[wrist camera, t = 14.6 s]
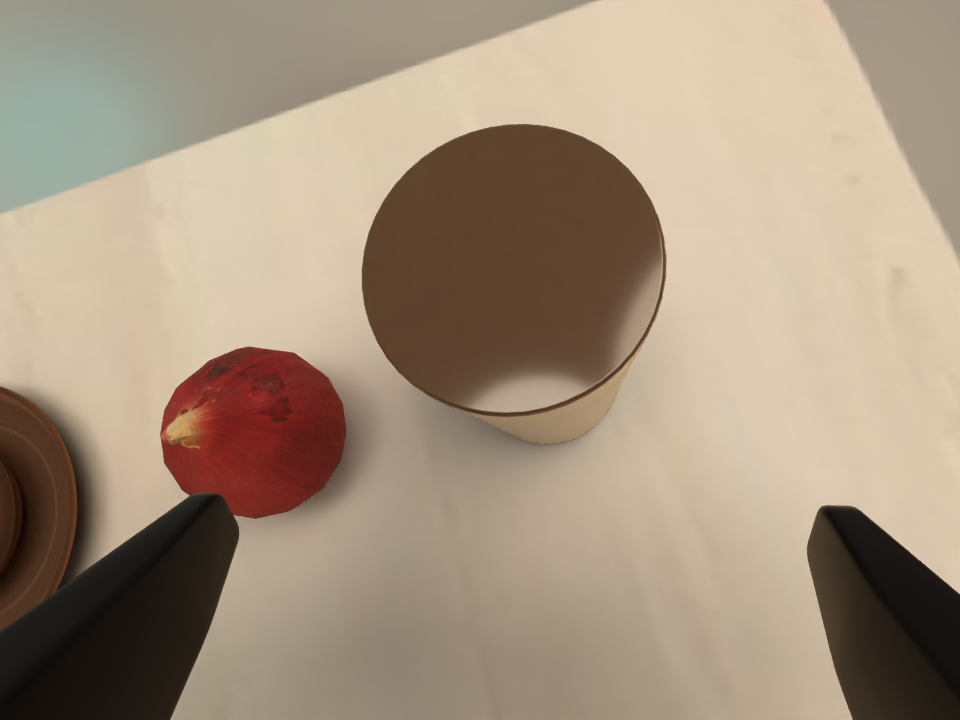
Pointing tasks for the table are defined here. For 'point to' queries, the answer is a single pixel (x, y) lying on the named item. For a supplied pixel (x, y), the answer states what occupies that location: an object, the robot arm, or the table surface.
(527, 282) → the spice jar
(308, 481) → the onion
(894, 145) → the table surface
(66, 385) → the table surface
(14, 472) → the cup and saucer
